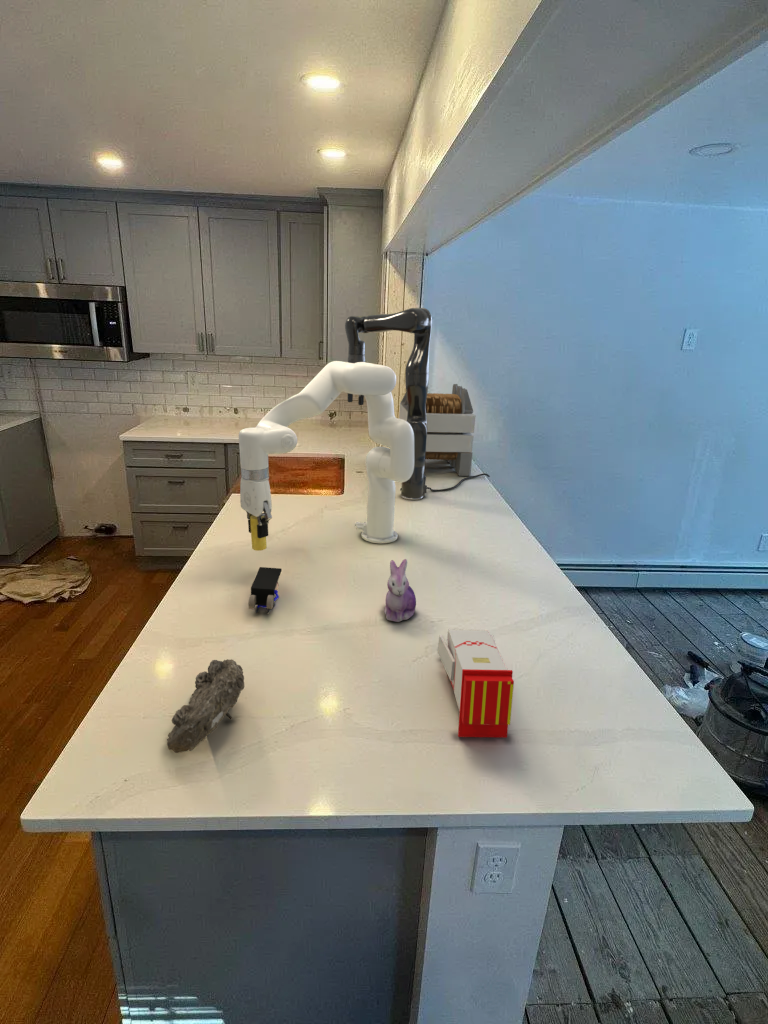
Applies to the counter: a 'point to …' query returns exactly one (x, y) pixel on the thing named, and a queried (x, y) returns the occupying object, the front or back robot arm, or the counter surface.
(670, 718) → the counter surface
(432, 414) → the transformer
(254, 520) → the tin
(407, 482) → the back robot arm
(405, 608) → the figurine
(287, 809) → the counter surface
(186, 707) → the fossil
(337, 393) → the front robot arm
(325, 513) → the counter surface
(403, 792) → the counter surface
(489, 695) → the toy
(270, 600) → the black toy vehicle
